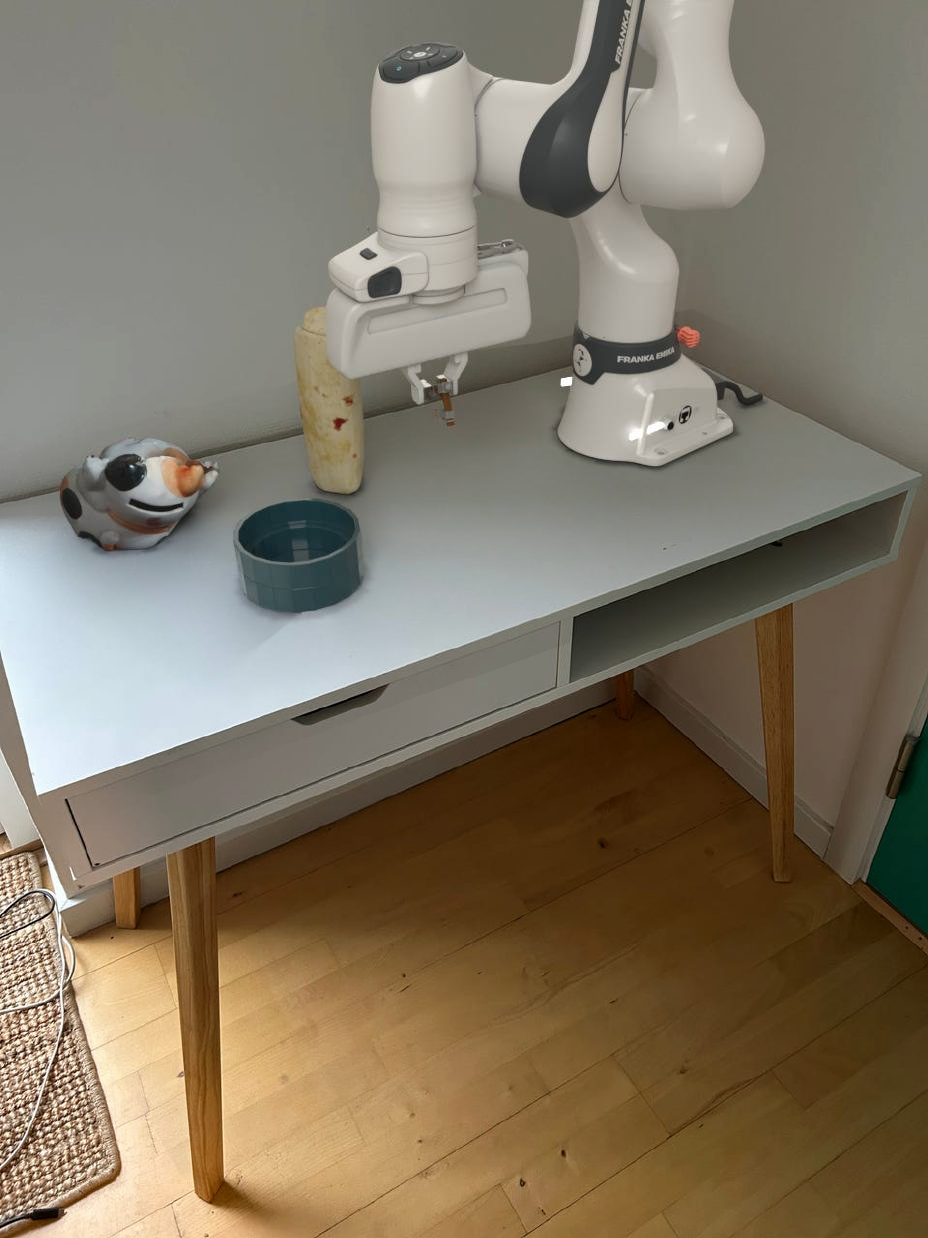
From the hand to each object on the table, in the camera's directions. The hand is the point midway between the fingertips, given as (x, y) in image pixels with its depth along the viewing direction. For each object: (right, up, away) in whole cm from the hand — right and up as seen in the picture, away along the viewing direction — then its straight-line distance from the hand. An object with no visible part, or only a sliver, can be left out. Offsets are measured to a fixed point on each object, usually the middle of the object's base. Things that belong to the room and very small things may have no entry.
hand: (434, 397), depth 97 cm
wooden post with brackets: (0, -1, +1) cm, 2 cm away
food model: (-12, -6, +19) cm, 23 cm away
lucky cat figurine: (-32, -12, +11) cm, 36 cm away
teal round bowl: (-13, -18, +3) cm, 22 cm away
